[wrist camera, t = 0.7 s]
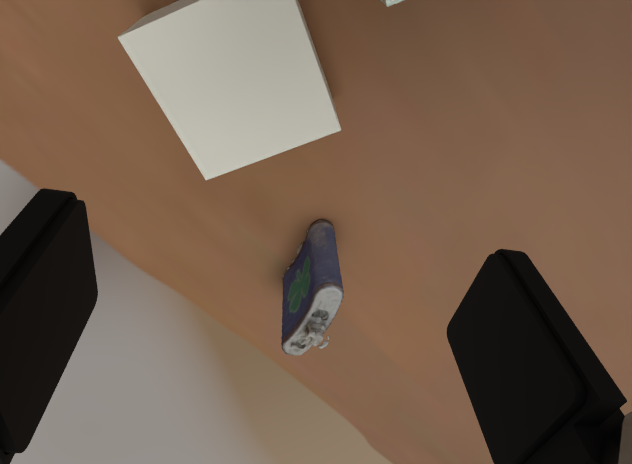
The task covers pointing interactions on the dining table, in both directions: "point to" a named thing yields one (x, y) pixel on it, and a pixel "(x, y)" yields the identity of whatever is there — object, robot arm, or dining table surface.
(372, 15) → the dining table surface
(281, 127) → the cream box
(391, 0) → the open sage green box
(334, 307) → the flask
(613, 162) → the dining table surface
